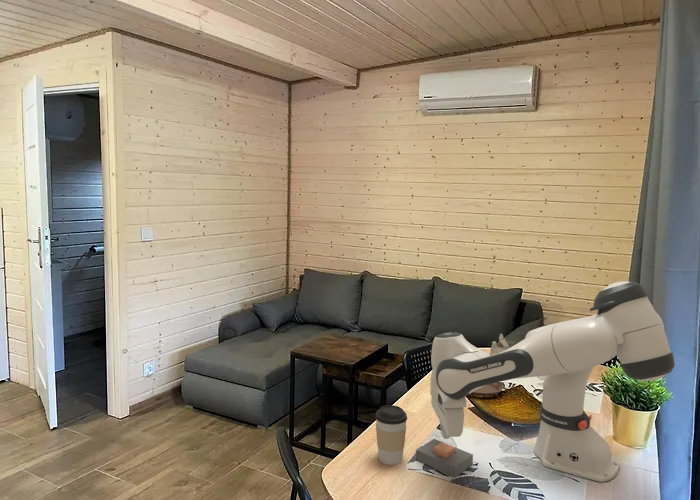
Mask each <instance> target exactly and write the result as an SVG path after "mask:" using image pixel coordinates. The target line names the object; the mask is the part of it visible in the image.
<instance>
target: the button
mask: <svg viewBox="0 0 700 500" xmlns="http://www.w3.org/2000/svg"><path fill="white" fill-rule="evenodd" d="M455 447H456V446H453V445H451V444H449V443H446V442H444V441H441V443H440V444H438V445H437V446H435V447H434V449H433V453H435V454H437V455H440V456H442V457H444V458H449V457H450V456H452V455H453V454H455Z"/></svg>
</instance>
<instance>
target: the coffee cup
mask: <svg viewBox="0 0 700 500" xmlns="http://www.w3.org/2000/svg"><path fill="white" fill-rule="evenodd" d="M375 420H376V423H375V432H376V444H377V445H376V446H377V454H378V455H377V456H378V460H379V462H380V463H382V464H384V465H387V466H388V465H389V466H396V465H399V464H401V463H403V457H404V448H405V443H406V434H407V433H406V432H407V431H406V430H407V420H408V415H407V413H406V411H404V409H403V408H402V407H400V406H398V405H392V404H390V405H389V404H387V405H383V406H380V408H378V409H377V410H376V411H375Z"/></svg>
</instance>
